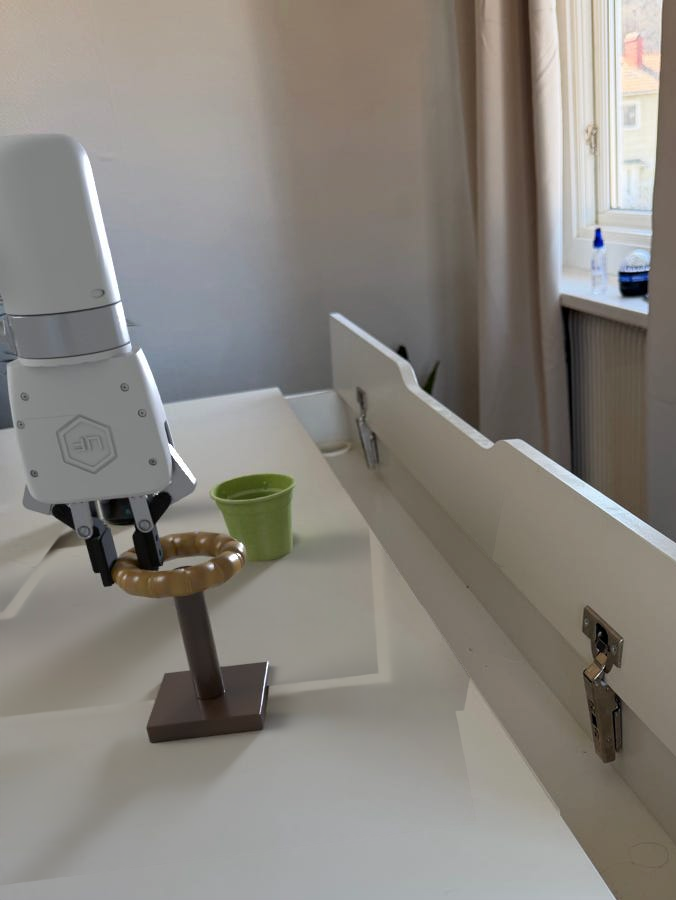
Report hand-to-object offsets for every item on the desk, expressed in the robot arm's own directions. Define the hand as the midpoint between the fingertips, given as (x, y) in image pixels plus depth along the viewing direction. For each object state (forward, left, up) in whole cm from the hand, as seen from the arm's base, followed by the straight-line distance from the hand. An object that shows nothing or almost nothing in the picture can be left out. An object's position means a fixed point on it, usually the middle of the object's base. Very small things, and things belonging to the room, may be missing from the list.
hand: (131, 575), depth 76 cm
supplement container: (-13, +53, -13) cm, 56 cm away
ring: (+4, 0, +1) cm, 4 cm away
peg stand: (+4, 0, -13) cm, 13 cm away
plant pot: (+6, +33, -13) cm, 36 cm away
